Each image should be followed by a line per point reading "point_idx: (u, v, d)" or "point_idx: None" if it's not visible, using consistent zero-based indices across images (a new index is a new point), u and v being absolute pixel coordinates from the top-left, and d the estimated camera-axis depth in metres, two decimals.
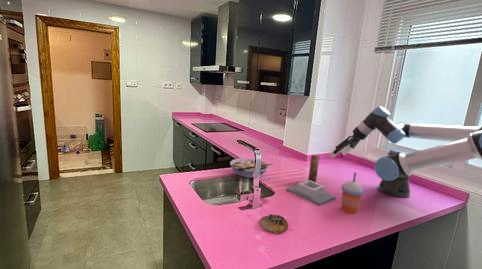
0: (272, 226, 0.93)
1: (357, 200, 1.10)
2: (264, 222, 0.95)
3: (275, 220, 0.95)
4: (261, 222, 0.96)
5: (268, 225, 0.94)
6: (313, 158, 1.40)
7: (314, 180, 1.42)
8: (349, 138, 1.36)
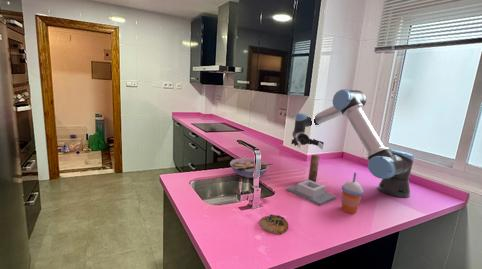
0: (272, 226, 0.93)
1: (357, 200, 1.10)
2: (264, 222, 0.95)
3: (275, 220, 0.95)
4: (261, 222, 0.96)
5: (268, 225, 0.93)
6: (313, 158, 1.40)
7: (314, 180, 1.42)
8: None
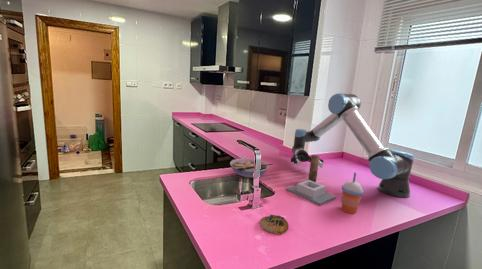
0: (272, 227, 0.93)
1: (357, 200, 1.10)
2: (264, 222, 0.95)
3: (275, 220, 0.95)
4: (261, 222, 0.96)
5: (268, 225, 0.93)
6: (313, 158, 1.40)
7: (314, 180, 1.42)
8: None
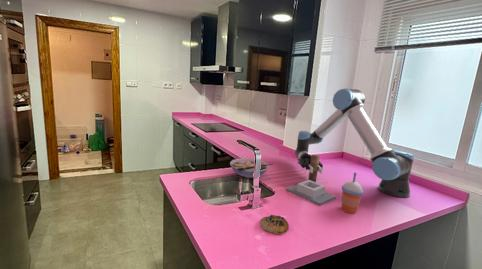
0: (272, 227, 0.92)
1: (357, 200, 1.10)
2: (264, 223, 0.94)
3: (275, 221, 0.94)
4: (261, 223, 0.95)
5: (268, 225, 0.93)
6: (313, 158, 1.40)
7: (314, 180, 1.42)
8: (298, 161, 1.53)
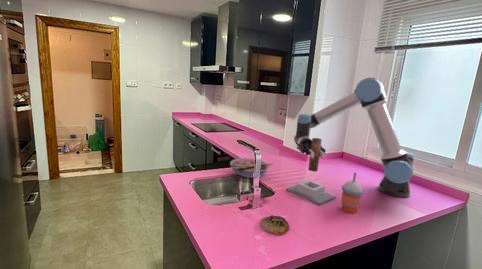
0: (273, 227, 0.92)
1: (357, 200, 1.10)
2: (265, 223, 0.94)
3: (276, 221, 0.94)
4: (262, 223, 0.95)
5: (269, 226, 0.93)
6: (314, 141, 1.22)
7: (315, 167, 1.24)
8: (297, 147, 1.35)
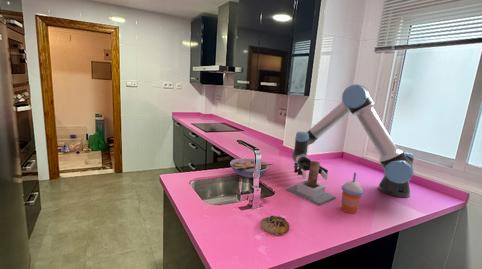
0: (273, 227, 0.92)
1: (357, 200, 1.10)
2: (265, 223, 0.94)
3: (276, 221, 0.94)
4: (262, 223, 0.95)
5: (269, 226, 0.93)
6: (313, 165, 1.24)
7: None
8: (294, 165, 1.37)
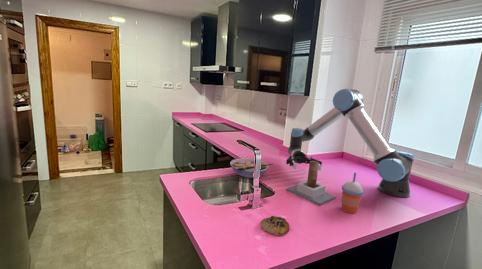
0: (273, 228, 0.92)
1: (357, 200, 1.10)
2: (265, 224, 0.94)
3: (276, 222, 0.94)
4: (262, 224, 0.95)
5: (269, 227, 0.92)
6: (312, 165, 1.24)
7: None
8: None
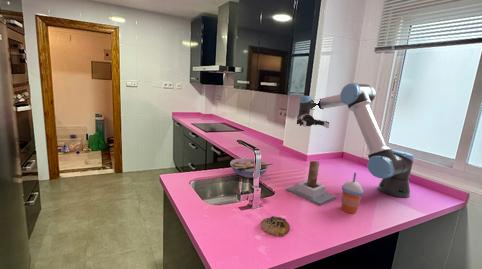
0: (273, 228, 0.91)
1: (357, 200, 1.10)
2: (265, 224, 0.93)
3: (276, 222, 0.93)
4: (262, 224, 0.94)
5: (269, 227, 0.92)
6: (312, 165, 1.24)
7: None
8: None
